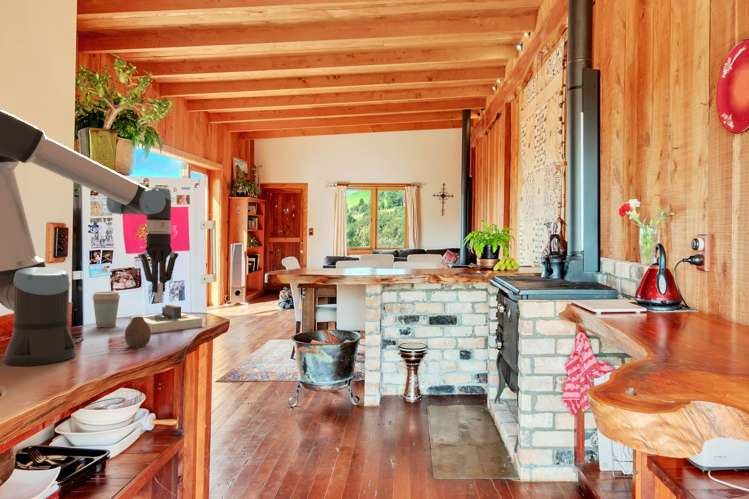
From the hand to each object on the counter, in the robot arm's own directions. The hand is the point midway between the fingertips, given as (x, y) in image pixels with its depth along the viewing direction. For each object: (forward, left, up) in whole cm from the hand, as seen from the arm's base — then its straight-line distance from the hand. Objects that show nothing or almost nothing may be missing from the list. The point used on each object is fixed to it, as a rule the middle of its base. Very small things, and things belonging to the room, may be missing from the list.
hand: (158, 301), depth 159 cm
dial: (+6, +5, -8) cm, 11 cm away
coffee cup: (-10, +19, -10) cm, 24 cm away
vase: (-14, -18, -10) cm, 25 cm away
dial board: (+6, +7, -10) cm, 14 cm away
